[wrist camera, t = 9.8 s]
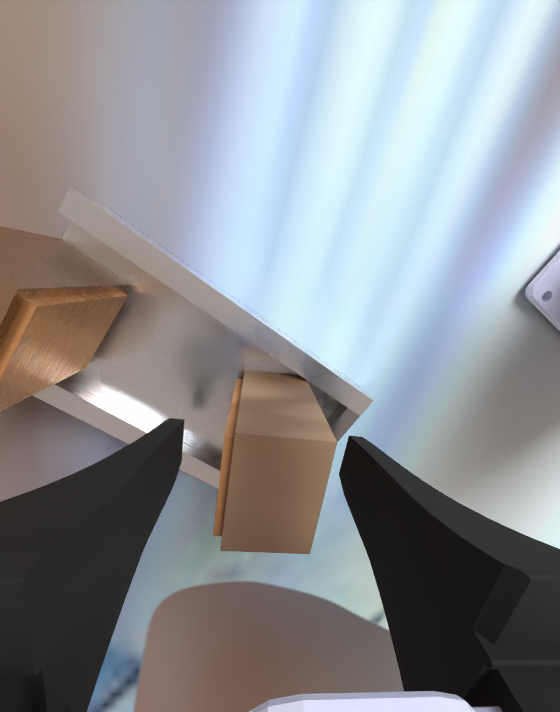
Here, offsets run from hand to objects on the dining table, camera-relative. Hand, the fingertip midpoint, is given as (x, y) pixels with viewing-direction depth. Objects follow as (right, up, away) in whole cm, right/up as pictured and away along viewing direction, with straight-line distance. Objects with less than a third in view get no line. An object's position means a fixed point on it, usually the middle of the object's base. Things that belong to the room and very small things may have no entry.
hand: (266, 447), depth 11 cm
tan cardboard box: (0, +1, +2) cm, 2 cm away
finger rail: (-3, +3, +2) cm, 5 cm away
